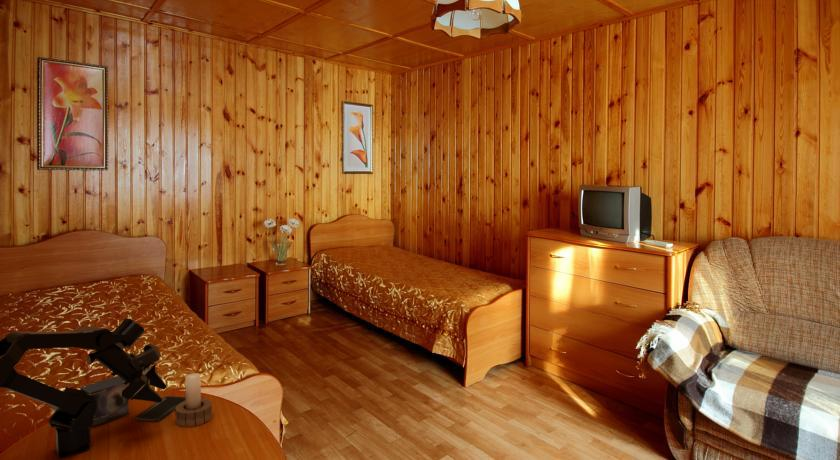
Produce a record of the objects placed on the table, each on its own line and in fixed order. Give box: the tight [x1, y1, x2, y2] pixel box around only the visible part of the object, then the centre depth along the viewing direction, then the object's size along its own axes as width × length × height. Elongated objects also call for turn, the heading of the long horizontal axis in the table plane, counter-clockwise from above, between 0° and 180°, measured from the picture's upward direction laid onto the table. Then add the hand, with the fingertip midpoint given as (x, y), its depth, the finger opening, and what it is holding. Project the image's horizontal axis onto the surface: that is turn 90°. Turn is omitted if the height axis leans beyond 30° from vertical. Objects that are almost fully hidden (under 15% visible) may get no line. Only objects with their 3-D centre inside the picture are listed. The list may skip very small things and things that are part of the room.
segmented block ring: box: [174, 397, 213, 428], centre depth 143 cm, size 10×10×4 cm
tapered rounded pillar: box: [184, 372, 202, 410], centre depth 143 cm, size 4×4×13 cm
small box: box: [79, 375, 130, 428], centre depth 142 cm, size 11×6×10 cm, turn 148°
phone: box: [135, 395, 186, 423], centre depth 148 cm, size 8×1×15 cm
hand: (163, 394), depth 140 cm, fingers open, 9 cm apart
